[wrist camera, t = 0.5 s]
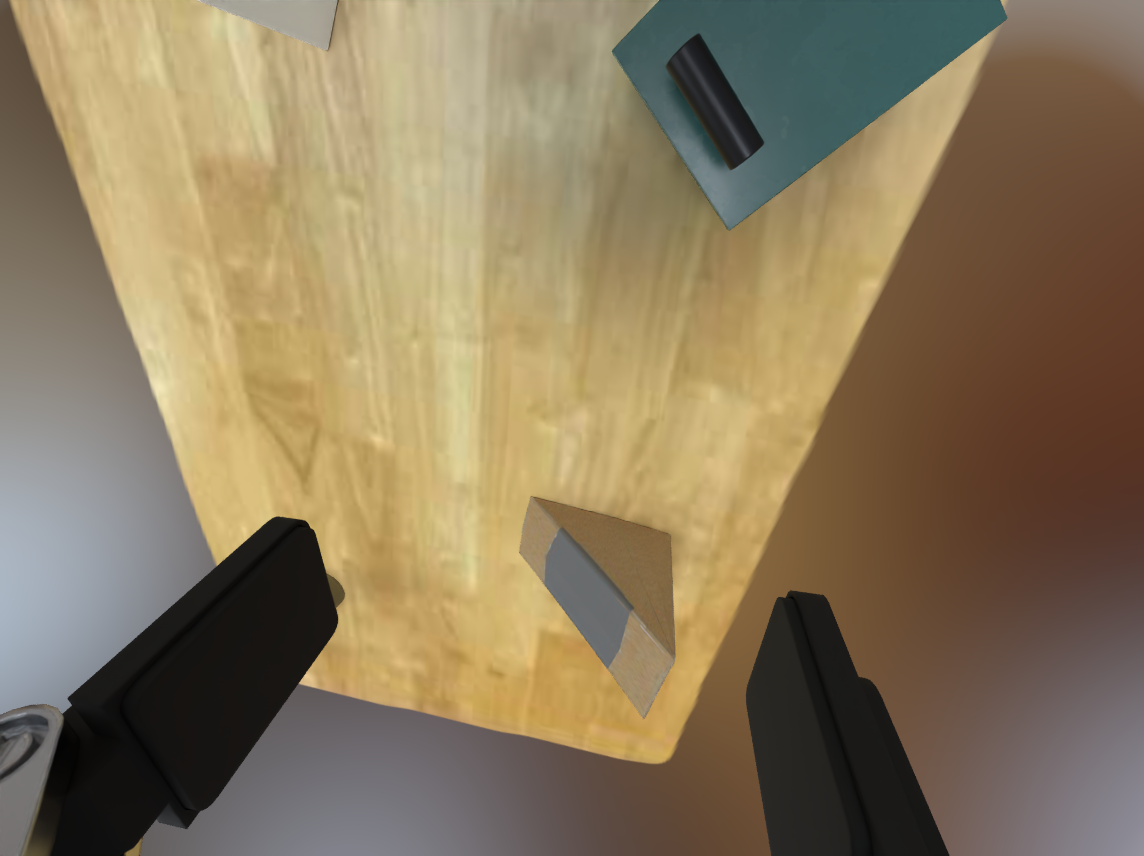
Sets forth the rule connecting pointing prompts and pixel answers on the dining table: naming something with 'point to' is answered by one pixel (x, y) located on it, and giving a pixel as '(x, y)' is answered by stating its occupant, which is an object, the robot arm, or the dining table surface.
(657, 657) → the sandwich container
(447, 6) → the dining table surface
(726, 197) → the lid
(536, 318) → the dining table surface
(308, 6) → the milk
